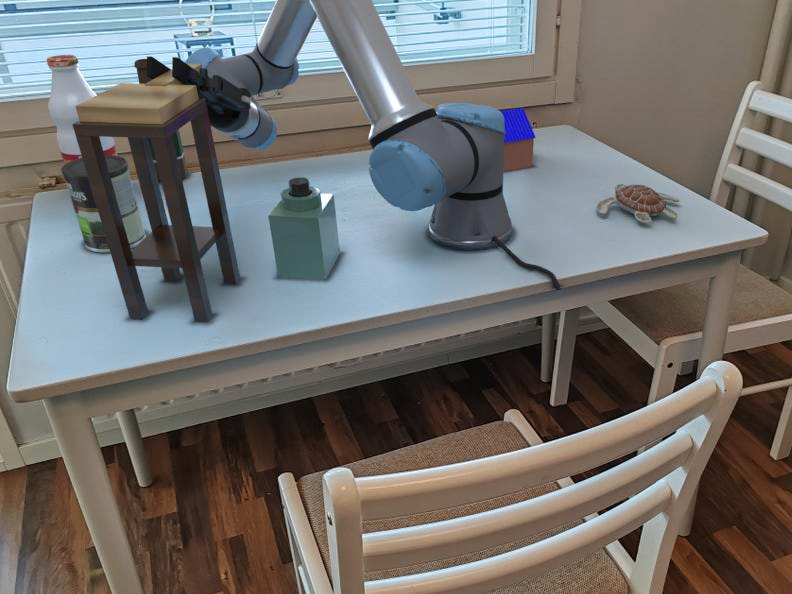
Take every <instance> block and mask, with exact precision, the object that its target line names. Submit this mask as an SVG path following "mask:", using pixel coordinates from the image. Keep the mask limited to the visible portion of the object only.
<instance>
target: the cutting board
mask: <svg viewBox="0 0 792 594" xmlns="http://www.w3.org/2000/svg"><path fill="white" fill-rule="evenodd" d="M186 64H188V65H189V66H190V67H192V68H193V69H195V70H196V71H198V72H199V69H200V68H202V64H189V63H186ZM198 100H199V97H198V92H197V87H196V85H184V84H183V83H181V82H180V81H178V80H177V79H175V78H173V77H172V69H171V70H170V71H168V72H166V73H164V74H162V75H161V76H159V77H157V78H155V79H153V80H151V81H150V82H148V83H146V84H139V83H130V82H128V83H127V82H120V83H118V84H116V85H114V86H112V87H110V88H108V89H106V90H104V91H102V92H100V93H98V94H96V96H94V97H92V98H90V99H89V100H87V101H85V102H83V103H81V104H79V105H77V106H75V107H76V110H77V114H78V117H79V121H80V122H101V123H132V124H164V123H165V122H167V121H168V120H170V119H171V118H173V117H174V116H176V115H177V114H179V113H180V112H181V111H183V110H184V109H186V108H187V107H189V106H190V105H192V104H193V103H195V102H196V101H198Z"/></svg>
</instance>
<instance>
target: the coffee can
mask: <svg viewBox="0 0 792 594" xmlns="http://www.w3.org/2000/svg"><path fill="white" fill-rule="evenodd" d="M105 159H106V162H107V166H108V170H109V173H110V177H111V180H112V184H113V187H114V191H115V195H116V198H117V202H118V205H119V209H120V212H121V216H122V220H123V223H124V227H125V230H126V234H127V238H128V241H129V245H130V248H131V249H134V248H135V247H136V246H137V245H138V244H139V243H140V242H141V241H142V240H144V239H145V238H146V237H147V234H146V232H145V228H144V225H143V221H142V217H141V212H140V210H139V205H138V202H137V197H136V193H135V190H134V189H135V188H134V185H133V181H132V178H131V174H130V170H129V162H128V160H127V159H126V158H125V157H122V156H113V155H105ZM60 171H61V173H62V174H61V175H63V177H64V180H65V181H64V182H65V185H66V187H67V190H68V193H69V196H70V201H71V203H72V207H73V209H74V213H75V215H76V218H77V222H78V225H79V228H80V231H81V234H82V238H83V242H84V246H85V248H86V249H87V250H89V251H90V252H94V253H99V254H100V253H102V254H111V253H110V250H109V246H108V243H107V239H106V236H105V233H104V229H103V226H102V223H101V219H100V216H99V213H98V209H97V206H96V203H95V199H94V196H93V192H92V189H91V186H90V182H89V179H88V176H87V172H86V169H85V166H84V162H83V159H82V158H79V159H76V160H73V161H71V162H69V163H67V164H64V165H62V167H61V168H60Z"/></svg>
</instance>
